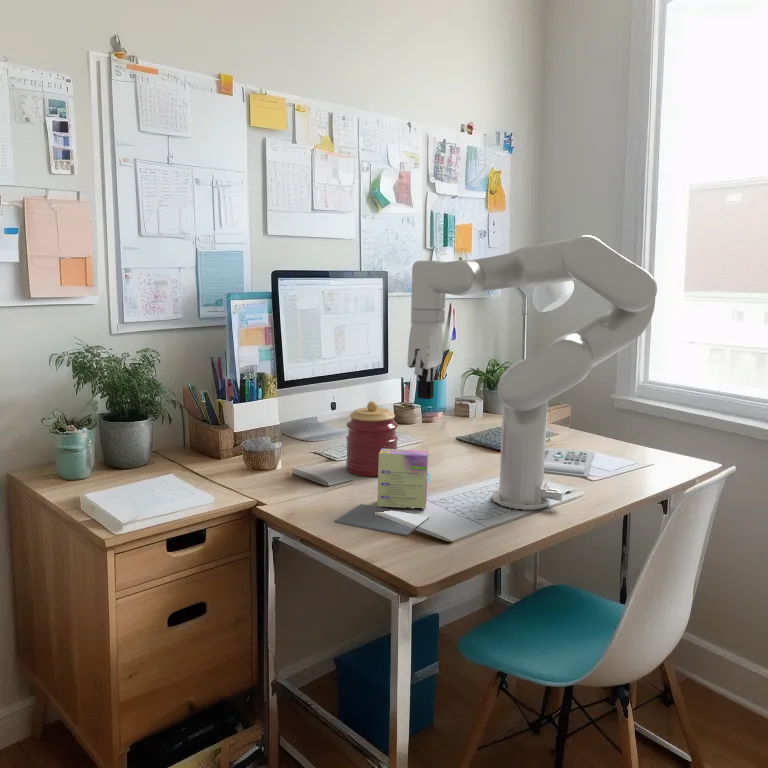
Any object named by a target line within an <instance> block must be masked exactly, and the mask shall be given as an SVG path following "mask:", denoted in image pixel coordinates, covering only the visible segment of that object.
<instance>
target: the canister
mask: <svg viewBox="0 0 768 768" xmlns="http://www.w3.org/2000/svg"><path fill="white" fill-rule="evenodd" d="M395 417H396V415H395V413H393V412H391V411H390V410H389V409H388V408H385V407H378V403H377V402H376V401H372V400H371V401H369V402H368V403H367V405H366V407H360V408H357V409H355V410H354V411H353V412H351V413H349V418H351V419H350V420H349V421H347V422H346V424H345V425H346V427H347V428H348V432H347V433H348V434H347V435H346V437H345V439H346V460H345V463H346V464H345V465H346V470H347V472H349V473H350V474H353V475H356V476H362V477H378V464H379V452H380V451H381V449H382V448H384V449H398V440H399V437H398V435H397V428H398V427H399V424H398V423H397V422H396V421H395V420H394V418H395Z"/></svg>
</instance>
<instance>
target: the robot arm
mask: <svg viewBox="0 0 768 768" xmlns="http://www.w3.org/2000/svg"><path fill="white" fill-rule="evenodd" d="M572 281H578V282H580V283H581V284H582V285H584V286H585V287H587V288H588V289H590V290H591V291H593V292H594V293H596V294H597V295H599V296H600V297H602V298H603V299H605V300H606V301H608V302H609V303H610V305H609V306H608V308H607V309H606V310H604V311H603V312H602V313H600V314H598V315H597V316H595V317H594V318H592V319H590V321H588V322H586V323H585V324H582V325H581V326H579V327H578V328H576V329H574V330H572V331H570V332H569V333H567V334H563V335H562V336H559V337H557V338H556V339H555V340H554V341H552V342H551V343H550V344H548V345H547V346H545V347H543V348H542V349H540V350H539V351H537V352H535V353H534V354H532V355H530V356H528V357H527V358H524V359H520V360H517V361H515V362H513V363H512V364H511V365H510V366H509V367H508V368H507V369H506V370H504V372H503V373H502V374H501V376H500V378H499V381H498V383H497V395H498V398H499V400H500V401H501V403H502V404H503V408H502V419H501V420H502V423H501V439H500V441H501V442H500V463H499V488H498V489H497V490H495V491H493V492H492V493H491V500H492V499H493V500H492V502H493V501H494V502H493V503H495V502H496V503H498V504H500V505H502V506H501V507H503V506H505V507H504V508H506V507H509V508H508V509H511V508H514V509H513V510H518V509H522V510H521V511H534V510H539V509H543V508H546V507H548V506H549V505H550V500H553V501H557V502H562V501H563V496H564V494H563V492H562V491H560V489H558V488H551V487H549V486H548V481H547V480H544V478H545V477H544V475H545V473H544V462H545V448H546V442H547V439H546V438H547V427H548V426H547V425H548V424H547V423H548V411H549V401H550V400H552V399H553V398H555V397H557V396H558V395H561V394H563V393H564V392H566V391H567V390H569V389H571V388H573V387H575V386H576V385H578V384H579V383H580V382H582V381H583V380H584V379H585V378H587V376H588V375H589V374H590V372H591V370H592V368H594V367H596V366H598V365H599V364H600V363H602V362H604V361H605V360H607V359H610V358H611V357H612V356H614V355H615V354H616V353H618V352H620V351H621V350H623V349H625V348H626V347H628V346H629V345H631V344H632V343H633V342H634V341H636V340H637V339H638V338H639V337H640V336H641V335H642V334H643V333H644V331H645V330H646V329H647V327H648V325H649V324H650V321H651V319H652V317H653V315H654V311H655V306H656V296H657V295H658V294H657V293H658V285H657V282H656V280H655V277H654V276H653V275H652V274H651V273H650V272H649V271H647V270H646V269H644V268H643V267H640V266H639V265H638V264H636V263H634V262H632V261H631V260H629V259H627V258H626V257H625V256H623V255H622V254H620V253H618V252H617V251H616V250H614V249H612V248H611V247H610V246H609V245H607V244H605V243H604V242H603V241H601V240H600V239H599V238H597V237H596V236H592V235H588V234H587V235H586V234H585V235H580V236H576V237H575V238H568V239H564V240H558V241H553V242H552V241H551V242H546V243H540V244H535V245H528V246H524V247H520V248H517V249H516V250H514V251H511V252H507V253H504V254H499V255H493V256H487V257H482V258H477V259H476V258H475V259H470V260H469V259H465V260H464V259H463V260H462V259H461V260H460V259H459V260H453V261H441V260H417V261H415V262H414V263H413V264H412V268H411V296H410V297H411V299H410V303H411V304H410V306H411V308H410V324H411V325H410V330H409V338H408V347H407V348H408V349H407V367H408V368H410V369H412V368H413V369H414V375H416V377H417V378H416V379H417V398H418V399H423V400H424V399H425V400H431V399H433V398H434V388H435V384H434V383H435V376H436V371H437V370H438V366H439V365H441V364H442V363H443V355H444V354H443V353H444V351H443V350H444V348H443V347H444V340H443V337H444V335H443V331H444V330H443V325H445V321H446V319H445V318H446V317H445V315H446V295H451V296H459V297H461V296H467V295H473V294H478V293H484V292H485V293H486V292H490V291H491V292H492V291H495V290H504V289H511V288H521V289H522V288H523V289H524V288H525V289H527V288H533V287H534V288H535V287H539V286H547V285H553V284H559V283H560V284H561V283H565V282H572ZM496 503H495V504H496ZM498 504H497V505H498ZM548 504H549V505H548ZM500 505H499V506H500ZM547 505H548V506H547Z"/></svg>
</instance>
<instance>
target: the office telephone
mask: <svg viewBox="0 0 768 768" xmlns="http://www.w3.org/2000/svg"><path fill="white" fill-rule="evenodd" d="M594 454H596V453H595V451H587V450H580V449H579V450H577V449H568V448H567V449H566V448H556V447H555V448H548V447H547V448H546V447H545V462H544V474H552V475H560V476H568V477H569V476H570V477H577V478H578V477H579V478H586V479H587V478H589V475H590V470H591V468H590V467H592V464H591V463H593V460H594V458H595V455H594ZM593 457H594V458H593ZM592 459H593V460H592ZM588 474H589V475H588Z"/></svg>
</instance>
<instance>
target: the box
mask: <svg viewBox="0 0 768 768" xmlns="http://www.w3.org/2000/svg"><path fill="white" fill-rule="evenodd" d="M428 466H429V450H424V449H423V450H421V449H420V450H419V449H403V448H402V449H399V448H397V449H384V448H382V449H381V451H380V452H379V464H378V476H377V503H376V505H377V506H376V507H381V508H401V509H402V508H403V509H407V508H406V507H414V508H422V509H421V510H426V508H427V507H426V506H427V496H428V495H427V493H428V492H427V491H428V470H429V469H428ZM414 508H413V509H414Z"/></svg>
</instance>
